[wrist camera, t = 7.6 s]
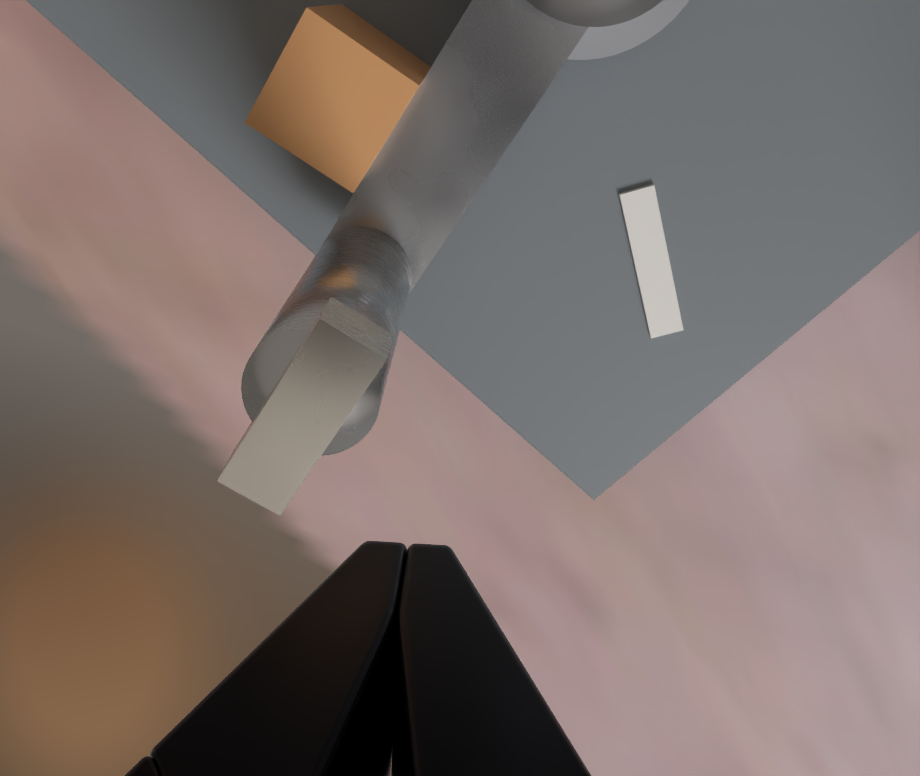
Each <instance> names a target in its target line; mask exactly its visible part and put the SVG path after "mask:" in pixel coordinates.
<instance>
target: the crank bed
mask: <svg viewBox="0 0 920 776" xmlns="http://www.w3.org/2000/svg"><path fill="white" fill-rule="evenodd" d="M26 1H27V2H28V3H29V4H31V5H32V6H33V7H34V8H35V9H36V10H37V11H39V12H40V13H41V14H42V15H43V16H44V17H45V18H47V19H48V20H49V21H50V22H51V23H52V24H53V25H54V26H56V27H57V28H58V29H59V30H60V31H61V32H62V33H64V34H65V35H66V36H67V37H68V38H69V39H70V40H72V41H73V42H74V43H75V44H76V45H77V46H78V47H79V48H81V49H82V50H83V51H84V52H85V53H86V54H87V55H89V56H90V57H91V58H92V59H93V60H94V61H95V62H97V63H98V64H99V65H100V66H101V67H102V68H103V69H105V70H106V71H107V72H108V73H109V74H110V75H111V76H112V77H114V78H115V79H116V80H117V81H118V82H119V83H120V84H122V85H123V86H124V87H125V88H126V89H127V90H128V91H130V92H131V93H132V94H133V95H134V96H135V97H136V98H137V99H139V100H140V101H141V102H142V103H143V104H144V105H145V106H147V107H148V108H149V109H150V110H151V111H152V112H153V113H155V114H156V115H157V116H158V117H159V118H160V119H161V120H162V121H164V122H165V123H166V124H167V125H168V126H169V127H170V128H172V129H173V130H174V131H175V132H176V133H177V134H178V135H180V136H181V137H182V138H183V139H184V140H185V141H186V142H187V143H189V144H190V145H191V146H192V147H193V148H194V149H195V150H197V151H198V152H199V153H200V154H201V155H202V156H203V157H205V158H206V159H207V160H208V161H209V162H210V163H211V164H212V165H214V166H215V167H216V168H217V169H218V170H219V171H220V172H222V173H223V174H224V175H225V176H226V177H227V178H228V179H230V180H231V181H232V182H233V183H234V184H235V185H236V186H237V187H239V188H240V189H241V190H242V191H243V192H244V193H245V194H247V195H248V196H249V197H250V198H251V199H252V200H253V201H255V202H256V203H257V204H258V205H259V206H260V207H261V208H263V209H264V210H265V211H266V212H267V213H268V214H269V215H270V216H272V217H273V218H274V219H275V220H276V221H277V222H278V223H280V224H281V225H282V226H283V227H284V228H285V229H286V230H288V231H289V232H290V233H291V234H292V235H293V236H294V237H295V238H297V239H298V240H299V241H300V242H301V243H302V244H303V245H305V246H306V247H307V248H308V249H309V250H310V251H311V252H313V253H314V254H315V255H316V254H317V253H318V251H319V250H320V248H321V246H322V245H323V243H324V241H325V240H326V238H327V237H328V235H329V233H330V232H331V230H332V228H333V227H334V225H335V223H336V222H337V220H338V219H339V217H340V215H341V214H342V212H343V210H344V209H345V207H346V205H347V204H348V202H349V201H350V199H351V197H352V196H353V194H354V192H355V191H356V189H357V187H358V186H359V184H360V183H361V181H362V179H363V178H364V176H365V174H366V173H367V171H368V170H369V168H370V166H371V165H372V163H373V161H374V160H375V158H376V156H377V155H378V153H379V152H380V150H381V148H382V147H383V145H384V143H385V142H386V140H387V138H388V137H389V135H390V134H391V132H392V130H393V129H394V127H395V125H396V124H397V122H398V120H399V119H400V117H401V116H402V114H403V112H404V111H405V109H406V107H407V106H408V104H409V102H410V101H411V99H412V98H413V96H414V94H415V93H416V91H417V89H418V88H419V86H420V85H421V83H422V81H423V80H424V78H425V76H426V75H427V73H428V71H429V70H430V68H431V67H432V65H433V63H434V62H435V60H436V58H437V57H438V55H439V53H440V52H441V50H442V49H443V47H444V45H445V44H446V42H447V40H448V39H449V37H450V35H451V34H452V32H453V31H454V29H455V27H456V26H457V24H458V22H459V21H460V19H461V17H462V16H463V14H464V13H465V11H466V9H467V8H468V6H469V4H470V3H471V1H472V0H26ZM918 231H920V0H663V1H661V2H660V3H659V4H658V5H656V6H655V7H654V8H652V9H651V10H649V11H647V12H646V13H644V14H642V15H641V16H638V17H636V18H634V19H632V20H629V21H627V22H623V23H620V24H616V25H611V26H604V27H588V29H587V30H586V32H585V33H584V35H583V36H582V38H581V39H580V41H579V42H578V44H577V45H576V47H575V48H574V50H573V51H572V53H571V54H570V56H569V57H568V59H567V60H566V62H565V63H564V65H563V66H562V68H561V69H560V71H559V72H558V74H557V75H556V76H555V78H554V79H553V81H552V82H551V84H550V85H549V87H548V88H547V90H546V91H545V93H544V94H543V96H542V97H541V99H540V100H539V102H538V103H537V105H536V106H535V108H534V109H533V111H532V112H531V114H530V115H529V117H528V118H527V120H526V121H525V123H524V124H523V126H522V127H521V128H520V130H519V131H518V133H517V134H516V136H515V137H514V139H513V140H512V142H511V143H510V145H509V146H508V148H507V149H506V151H505V152H504V154H503V155H502V157H501V158H500V160H499V161H498V163H497V164H496V166H495V167H494V169H493V170H492V172H491V173H490V175H489V176H488V178H487V179H486V181H485V182H484V183H483V185H482V186H481V188H480V189H479V191H478V192H477V194H476V195H475V197H474V198H473V200H472V201H471V203H470V204H469V206H468V207H467V209H466V210H465V212H464V213H463V215H462V216H461V218H460V219H459V221H458V222H457V224H456V225H455V227H454V228H453V230H452V231H451V233H450V234H449V235H448V237H447V238H446V240H445V241H444V243H443V244H442V246H441V247H440V249H439V250H438V252H437V253H436V255H435V256H434V258H433V259H432V261H431V262H430V264H429V265H428V267H427V268H426V270H425V271H424V273H423V274H422V276H421V277H420V279H419V280H418V282H417V283H416V285H415V286H414V288H413V289H412V290H411V292H410V293H409V295H408V298H407V302H406V306H405V310H404V314H403V318H402V322H401V326H400V330H401V331H402V332H403V333H405V334H406V335H407V336H408V337H409V338H410V339H411V340H413V341H414V342H415V343H416V344H417V345H418V346H419V347H421V348H422V349H423V350H424V351H425V352H426V353H427V354H428V355H430V356H431V357H432V358H433V359H434V360H435V361H436V362H438V363H439V364H440V365H441V366H442V367H443V368H444V369H446V370H447V371H448V372H449V373H450V374H451V375H452V376H453V377H455V378H456V379H457V380H458V381H459V382H460V383H461V384H463V385H464V386H465V387H466V388H467V389H468V390H469V391H471V392H472V393H473V394H474V395H475V396H476V397H477V398H478V399H480V400H481V401H482V402H483V403H484V404H485V405H486V406H488V407H489V408H490V409H491V410H492V411H493V412H494V413H496V414H497V415H498V416H499V417H500V418H501V419H502V420H503V421H505V422H506V423H507V424H508V425H509V426H510V427H511V428H513V429H514V430H515V431H516V432H517V433H518V434H519V435H521V436H522V437H523V438H524V439H525V440H526V441H527V442H528V443H530V444H531V445H532V446H533V447H534V448H535V449H536V450H538V451H539V452H540V453H541V454H542V455H543V456H544V457H546V458H547V459H548V460H549V461H550V462H551V463H552V464H554V465H555V466H556V467H557V468H558V469H559V470H560V471H561V472H563V473H564V474H565V475H566V476H567V477H568V478H569V479H571V480H572V481H573V482H574V483H575V484H576V485H577V486H579V487H580V488H581V489H582V490H583V491H584V492H585V493H586V494H588V495H589V496H590V497H591V498H592V499H593V500H594V499H595V498H597V497H598V496H599V495H600V494H601V493H603V492H604V491H605V490H606V489H608V488H609V487H610V486H611V485H612V484H614V483H615V482H616V481H617V480H618V479H620V478H621V477H622V476H623V475H624V474H626V473H627V472H628V471H629V470H630V469H632V468H633V467H634V466H635V465H637V464H638V463H639V462H640V461H641V460H643V459H644V458H645V457H646V456H647V455H649V454H650V453H651V452H652V451H653V450H655V449H656V448H657V447H658V446H660V445H661V444H662V443H663V442H664V441H666V440H667V439H668V438H669V437H670V436H672V435H673V434H674V433H675V432H676V431H678V430H679V429H680V428H681V427H682V426H684V425H685V424H686V423H687V422H689V421H690V420H691V419H692V418H693V417H695V416H696V415H697V414H698V413H699V412H701V411H702V410H703V409H704V408H705V407H707V406H708V405H709V404H710V403H712V402H713V401H714V400H715V399H716V398H718V397H719V396H720V395H721V394H722V393H724V392H725V391H726V390H727V389H728V388H730V387H731V386H732V385H733V384H734V383H736V382H737V381H738V380H739V379H741V378H742V377H743V376H744V375H745V374H747V373H748V372H749V371H750V370H751V369H753V368H754V367H755V366H756V365H757V364H759V363H760V362H761V361H762V360H764V359H765V358H766V357H767V356H768V355H770V354H771V353H772V352H773V351H774V350H776V349H777V348H778V347H779V346H780V345H782V344H783V343H784V342H785V341H786V340H788V339H789V338H790V337H791V336H793V335H794V334H795V333H796V332H797V331H799V330H800V329H801V328H802V327H803V326H805V325H806V324H807V323H808V322H809V321H811V320H812V319H813V318H814V317H816V316H817V315H818V314H819V313H820V312H822V311H823V310H824V309H825V308H826V307H828V306H829V305H830V304H831V303H832V302H834V301H835V300H836V299H837V298H838V297H840V296H841V295H842V294H843V293H845V292H846V291H847V290H848V289H849V288H851V287H852V286H853V285H854V284H855V283H857V282H858V281H859V280H860V279H861V278H863V277H864V276H865V275H866V274H868V273H869V272H870V271H871V270H872V269H874V268H875V267H876V266H877V265H878V264H880V263H881V262H882V261H883V260H884V259H886V258H887V257H888V256H889V255H890V254H892V253H893V252H894V251H895V250H897V249H898V248H899V247H900V246H901V245H903V244H904V243H905V242H906V241H907V240H909V239H910V238H911V237H912V236H913V235H915V234H916V233H917V232H918Z"/></svg>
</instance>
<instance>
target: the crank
mask: <svg viewBox="0 0 920 776" xmlns="http://www.w3.org/2000/svg"><path fill="white" fill-rule="evenodd" d="M661 1H663V0H472V1H471V3H470V4H469V6H468V8H467V9H466V11H465V13H464V14H463V16H462V17H461V19H460V21H459V22H458V24H457V26H456V27H455V29H454V31H453V32H452V34H451V35H450V37H449V39H448V40H447V42H446V44H445V45H444V47H443V49H442V50H441V52H440V53H439V55H438V57H437V58H436V60H435V62H434V63H433V65H432V67H431V68H430V70H429V71H428V73H427V75H426V76H425V78H424V80H423V81H422V83H421V85H420V86H419V88H418V89H417V91H416V93H415V94H414V96H413V98H412V99H411V101H410V102H409V104H408V106H407V107H406V109H405V111H404V112H403V114H402V116H401V117H400V119H399V120H398V122H397V124H396V125H395V127H394V129H393V130H392V132H391V134H390V135H389V137H388V138H387V140H386V142H385V143H384V145H383V147H382V148H381V150H380V152H379V153H378V155H377V156H376V158H375V160H374V161H373V163H372V165H371V166H370V168H369V170H368V171H367V173H366V174H365V176H364V178H363V179H362V181H361V183H360V184H359V186H358V187H357V189H356V191H355V192H354V194H353V196H352V197H351V199H350V201H349V202H348V204H347V205H346V207H345V209H344V210H343V212H342V214H341V215H340V217H339V219H338V220H337V222H336V223H335V225H334V227H333V228H332V230H331V232H330V233H329V235H328V237H327V238H326V240H325V241H324V243H323V245H322V246H321V248H320V250H319V251H318V253H317V254H316V256H315V257H314V259H313V260H312V262H311V264H310V265H309V267H308V268H307V270H306V271H305V273H304V274H303V276H302V278H301V279H300V281H299V282H298V284H297V285H296V287H295V288H294V290H293V291H292V293H291V295H290V296H289V298H288V299H287V301H286V302H285V304H284V305H283V307H282V309H281V310H280V312H279V313H278V315H277V316H276V318H275V319H274V321H273V323H272V324H271V326H270V327H269V329H268V330H267V332H266V333H265V335H264V337H263V338H262V340H261V341H260V343H259V344H258V346H257V347H256V349H255V351H254V352H253V354H252V355H251V357H250V358H249V360H248V362H247V364H246V366H245V369H244V372H243V377H242V387H241V390H242V398H243V402H244V406H245V409H246V411H247V413H248V415H249V417H250V419H251V421H252V422H251V424H250V426H249V427H248V429H247V430H246V432H245V434H244V435H243V437H242V438H241V440H240V441H239V443H238V445H237V446H236V448H235V449H234V451H233V453H232V455H231V456H230V458H229V460H228V462H227V464H226V466H225V467H224V469H223V471H222V473H221V475H220V476H219V478H218V480H217V481H218V482H220V483H221V484H223V485H225V486H227V487H229V488H230V489H232V490H234V491H236V492H238V493H240V494H241V495H243V496H245V497H247V498H249V499H250V500H252V501H254V502H256V503H258V504H260V505H261V506H263V507H265V508H267V509H269V510H270V511H272V512H274V513H276V514H278V515H281V514H282V512H283V511H284V509H285V508H286V506H287V505H288V503H289V502H290V500H291V499H292V498H293V496H294V495H295V493H296V492H297V490H298V489H299V487H300V486H301V484H302V483H303V481H304V480H305V479H306V477H307V476H308V474H309V473H310V471H311V470H312V468H313V467H314V465H315V464H316V462H317V461H318V460H319V458H320V457H321V456H322V455H330V454H335V453H338V452H341V451H344V450H346V449H348V448H350V447H352V446H354V445H355V444H357V443H358V442H359V441H360V440H362V439H363V438H364V437H365V436H366V435H367V433H368V432H369V431H370V430H371V428H372V426H373V425H374V423H375V421H376V418H377V416H378V412H379V408H380V405H381V401H382V397H383V393H384V389H385V385H386V381H387V377H388V373H389V369H390V365H391V361H392V357H393V353H394V350H395V346H396V342H397V338H398V334H399V330H400V326H401V322H402V318H403V314H404V310H405V306H406V302H407V298H408V295H409V293H410V292H411V290H412V289H413V288H414V286H415V285H416V283H417V282H418V280H419V279H420V277H421V276H422V274H423V273H424V271H425V270H426V268H427V267H428V265H429V264H430V262H431V261H432V259H433V258H434V256H435V255H436V253H437V252H438V250H439V249H440V247H441V246H442V244H443V243H444V241H445V240H446V238H447V237H448V235H449V234H450V233H451V231H452V230H453V228H454V227H455V225H456V224H457V222H458V221H459V219H460V218H461V216H462V215H463V213H464V212H465V210H466V209H467V207H468V206H469V204H470V203H471V201H472V200H473V198H474V197H475V195H476V194H477V192H478V191H479V189H480V188H481V186H482V185H483V183H484V182H485V181H486V179H487V178H488V176H489V175H490V173H491V172H492V170H493V169H494V167H495V166H496V164H497V163H498V161H499V160H500V158H501V157H502V155H503V154H504V152H505V151H506V149H507V148H508V146H509V145H510V143H511V142H512V140H513V139H514V137H515V136H516V134H517V133H518V131H519V130H520V128H521V127H522V126H523V124H524V123H525V121H526V120H527V118H528V117H529V115H530V114H531V112H532V111H533V109H534V108H535V106H536V105H537V103H538V102H539V100H540V99H541V97H542V96H543V94H544V93H545V91H546V90H547V88H548V87H549V85H550V84H551V82H552V81H553V79H554V78H555V76H556V75H557V74H558V72H559V71H560V69H561V68H562V66H563V65H564V63H565V62H566V60H567V59H568V57H569V56H570V54H571V53H572V51H573V50H574V48H575V47H576V45H577V44H578V42H579V41H580V39H581V38H582V36H583V35H584V33H585V32H586V30H587V29H588V27H604V26H611V25H616V24H620V23H623V22H627V21H629V20H632V19H634V18H636V17H638V16H641V15H642V14H644V13H646V12H647V11H649V10H651V9H652V8H654V7H655V6H656V5H658V4H659V3H660V2H661Z"/></svg>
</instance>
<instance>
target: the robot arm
mask: <svg viewBox="0 0 920 776" xmlns="http://www.w3.org/2000/svg"><path fill="white" fill-rule="evenodd" d="M391 759H392V776H591V775H590V773H589V771H588V770H587V768H586V766H585V765H584V763H583V762H582V760H581V758H580V757H579V755H578V753H577V752H576V750H575V749H574V747H573V745H572V744H571V742H570V740H569V739H568V737H567V736H566V734H565V732H564V731H563V729H562V727H561V726H560V724H559V723H558V721H557V719H556V718H555V716H554V714H553V713H552V711H551V710H550V708H549V706H548V705H547V703H546V701H545V700H544V698H543V697H542V695H541V693H540V692H539V690H538V688H537V687H536V685H535V684H534V682H533V680H532V679H531V677H530V675H529V674H528V672H527V671H526V669H525V667H524V666H523V664H522V662H521V661H520V659H519V658H518V656H517V654H516V653H515V651H514V649H513V648H512V646H511V645H510V643H509V641H508V640H507V638H506V636H505V635H504V633H503V632H502V630H501V628H500V627H499V625H498V623H497V622H496V620H495V619H494V617H493V615H492V614H491V612H490V610H489V609H488V607H487V606H486V604H485V602H484V601H483V599H482V597H481V596H480V594H479V593H478V591H477V589H476V588H475V586H474V584H473V583H472V581H471V580H470V578H469V576H468V575H467V573H466V571H465V570H464V568H463V567H462V565H461V563H460V562H459V560H458V558H457V557H456V555H455V554H454V552H453V551H452V549H451V548H450V547H448V546H446V545H431V544H412V545H410V546H409V548H408V550H407V548H406V546H405V545H404V544H402V543H396V542H379V541H367V542H365V543H363V544H362V545H361V546H360V547H359V548H358V549H357V550H356V551H355V552H353V553H352V554H351V555H350V556H349V557H348V558H347V559H346V560H345V561H344V562H343V563H342V564H341V565H340V566H339V567H338V568H337V569H336V570H335V571H334V572H333V573H332V574H331V575H330V576H329V577H328V578H327V579H326V580H325V581H324V582H323V583H322V584H321V585H320V586H319V587H318V588H317V589H316V590H315V591H314V592H313V593H312V594H311V595H310V596H309V597H307V599H305V600H304V602H302V603H301V604H300V605H299V607H297V608H296V609H295V610H294V611H293V612H292V613H291V614H290V615H289V616H288V617H287V618H286V619H285V620H284V621H283V622H282V623H281V624H280V625H279V626H278V627H277V628H276V629H275V630H274V631H273V632H272V633H271V634H270V635H269V636H268V637H267V638H266V639H265V640H264V641H263V642H261V644H260V645H258V646H257V648H255V649H254V650H253V651H252V652H251V653H250V654H249V655H248V656H247V657H246V658H245V659H244V660H243V661H242V662H241V663H240V664H239V665H238V666H237V667H236V668H235V669H234V670H233V671H232V672H231V673H230V674H229V675H228V676H227V677H226V678H225V679H224V680H223V681H222V682H221V683H220V684H219V685H218V686H217V687H216V688H215V689H213V690H212V691H211V692H210V693H209V694H208V695H207V696H206V697H205V698H204V699H203V700H202V701H201V702H200V703H199V704H198V705H197V706H196V707H195V708H194V709H193V710H192V711H191V712H190V713H189V714H188V715H187V716H186V717H185V718H184V719H183V720H182V721H181V722H180V723H179V724H178V725H177V726H176V727H175V728H174V729H173V730H172V731H171V732H170V733H168V734H167V736H165V737H164V738H163V739H162V741H160V742H159V743H158V744H157V745H156V746H155V747H154V748H153V749H152V751H151V753H150V757H149V756H147V757H144V758H142V759H141V760H140V761H139V762H138V763H137V764H136V765H135V766H134V767H133V768H132V769H131V770H130V771H129V772H128V773H127V774H126V775H125V776H389V775H390V766H391Z"/></svg>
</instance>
